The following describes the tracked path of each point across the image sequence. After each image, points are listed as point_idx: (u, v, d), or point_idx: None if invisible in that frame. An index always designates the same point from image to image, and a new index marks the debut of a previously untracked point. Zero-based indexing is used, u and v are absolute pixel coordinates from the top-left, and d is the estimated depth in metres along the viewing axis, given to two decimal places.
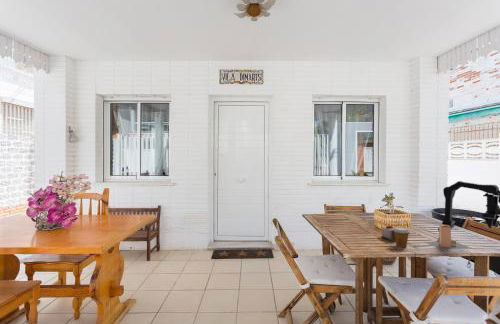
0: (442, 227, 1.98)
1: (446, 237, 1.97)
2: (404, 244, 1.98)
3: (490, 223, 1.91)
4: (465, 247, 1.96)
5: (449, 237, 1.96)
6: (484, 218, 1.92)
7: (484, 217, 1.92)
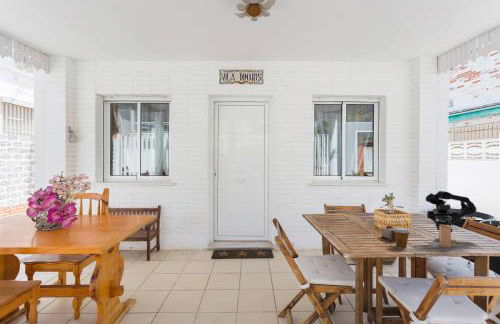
0: (442, 227, 1.98)
1: (446, 237, 1.97)
2: (404, 244, 1.98)
3: (434, 220, 2.08)
4: (465, 247, 1.96)
5: (449, 237, 1.96)
6: None
7: (429, 217, 2.13)
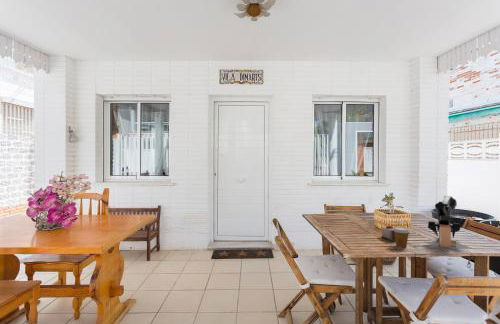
0: (442, 227, 1.98)
1: (446, 237, 1.97)
2: (404, 244, 1.98)
3: (435, 231, 2.02)
4: (465, 247, 1.96)
5: (449, 237, 1.96)
6: (432, 229, 2.07)
7: None
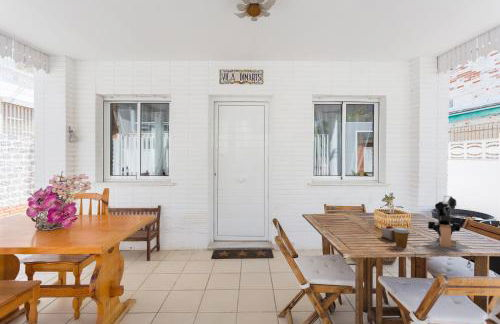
0: (442, 227, 1.97)
1: (446, 237, 1.96)
2: (404, 244, 1.98)
3: (437, 231, 2.02)
4: (465, 247, 1.96)
5: (449, 237, 1.96)
6: None
7: (433, 228, 2.07)
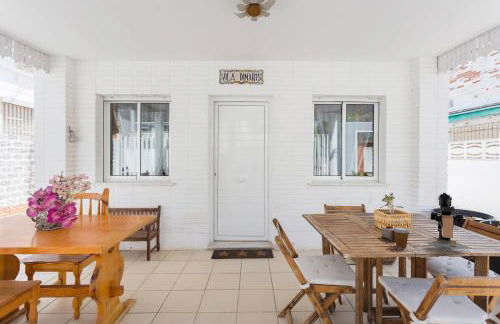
0: (444, 218, 1.98)
1: (448, 228, 1.97)
2: (404, 244, 1.98)
3: (440, 222, 2.02)
4: (465, 247, 1.96)
5: (451, 228, 1.96)
6: (437, 221, 2.06)
7: None
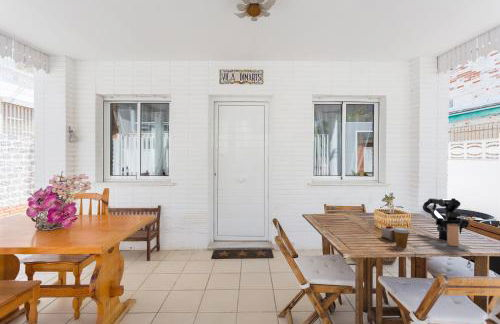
0: (450, 226, 2.00)
1: (454, 236, 1.98)
2: (404, 244, 1.98)
3: (444, 227, 2.03)
4: (465, 247, 1.96)
5: (457, 236, 1.98)
6: (441, 226, 2.07)
7: None
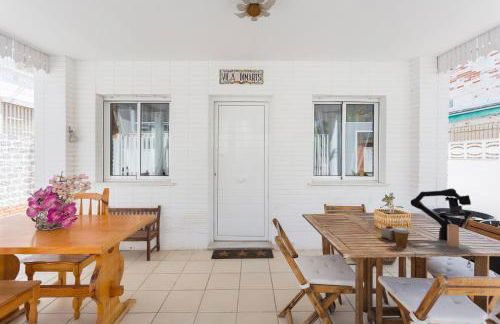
0: (450, 227, 1.99)
1: (454, 237, 1.98)
2: (404, 244, 1.98)
3: (446, 221, 2.10)
4: (465, 247, 1.96)
5: (457, 237, 1.97)
6: (444, 219, 2.14)
7: None
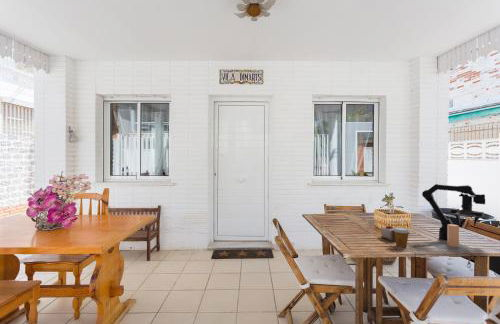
0: (450, 227, 1.99)
1: (454, 237, 1.98)
2: (404, 244, 1.98)
3: None
4: (465, 247, 1.96)
5: (457, 237, 1.97)
6: None
7: None
